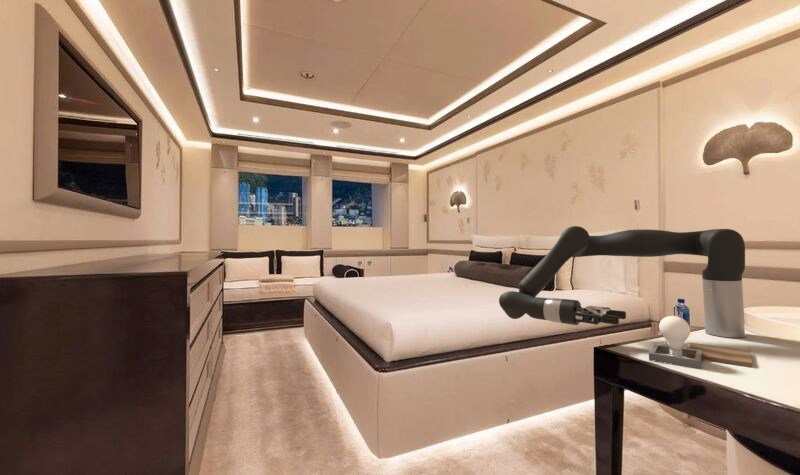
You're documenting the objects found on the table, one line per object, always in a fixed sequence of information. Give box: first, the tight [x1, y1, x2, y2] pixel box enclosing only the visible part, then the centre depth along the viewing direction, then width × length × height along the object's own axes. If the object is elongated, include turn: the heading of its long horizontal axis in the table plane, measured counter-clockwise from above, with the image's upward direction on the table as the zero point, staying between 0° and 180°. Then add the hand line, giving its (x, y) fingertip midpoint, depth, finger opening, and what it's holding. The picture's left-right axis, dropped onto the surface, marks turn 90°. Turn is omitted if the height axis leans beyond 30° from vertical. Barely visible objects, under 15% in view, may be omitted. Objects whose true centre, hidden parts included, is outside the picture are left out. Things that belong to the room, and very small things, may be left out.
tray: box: [648, 343, 703, 369], centre depth 90 cm, size 10×10×2 cm
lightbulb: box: [658, 315, 691, 357], centre depth 90 cm, size 6×6×11 cm
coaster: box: [686, 342, 753, 368], centre depth 91 cm, size 12×12×1 cm
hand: (622, 317), depth 97 cm, fingers open, 8 cm apart
